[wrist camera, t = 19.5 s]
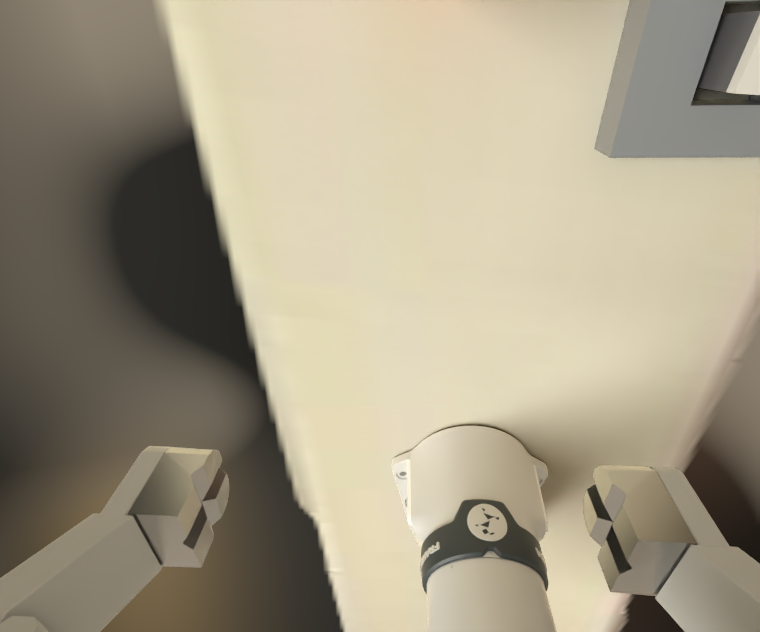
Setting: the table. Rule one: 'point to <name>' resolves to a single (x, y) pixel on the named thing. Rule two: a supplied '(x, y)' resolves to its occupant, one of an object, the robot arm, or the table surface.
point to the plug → (734, 55)
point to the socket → (672, 88)
